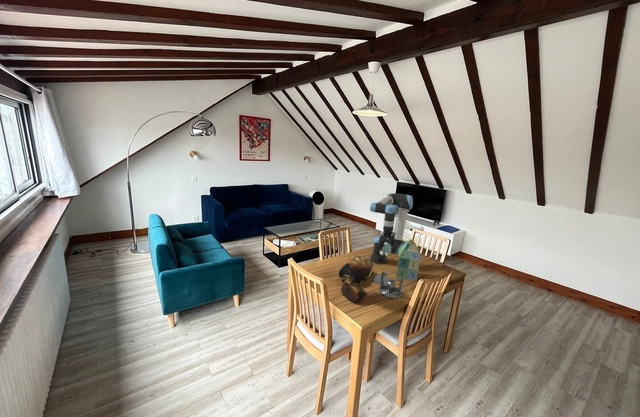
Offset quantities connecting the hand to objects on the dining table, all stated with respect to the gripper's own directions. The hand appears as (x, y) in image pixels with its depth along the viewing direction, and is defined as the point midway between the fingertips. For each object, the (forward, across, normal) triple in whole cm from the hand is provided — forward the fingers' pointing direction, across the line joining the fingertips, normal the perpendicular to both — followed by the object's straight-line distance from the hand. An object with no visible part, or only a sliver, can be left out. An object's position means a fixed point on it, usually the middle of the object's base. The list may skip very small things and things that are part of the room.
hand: (385, 253), depth 215 cm
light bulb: (-1, 0, 0) cm, 1 cm away
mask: (+24, -17, +14) cm, 32 cm away
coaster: (+23, 0, 0) cm, 23 cm away
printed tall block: (+23, +26, 0) cm, 35 cm away
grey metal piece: (+23, -5, -17) cm, 29 cm away
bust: (+24, -31, -8) cm, 40 cm away
